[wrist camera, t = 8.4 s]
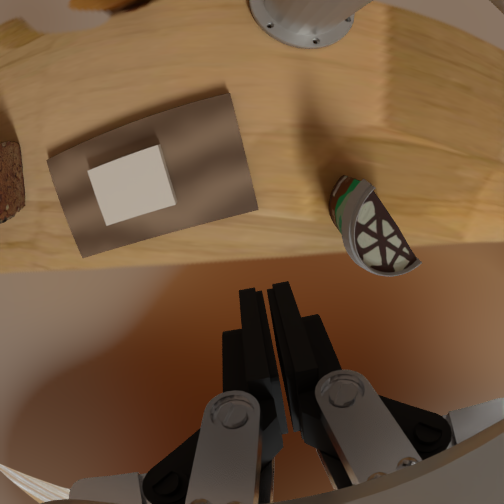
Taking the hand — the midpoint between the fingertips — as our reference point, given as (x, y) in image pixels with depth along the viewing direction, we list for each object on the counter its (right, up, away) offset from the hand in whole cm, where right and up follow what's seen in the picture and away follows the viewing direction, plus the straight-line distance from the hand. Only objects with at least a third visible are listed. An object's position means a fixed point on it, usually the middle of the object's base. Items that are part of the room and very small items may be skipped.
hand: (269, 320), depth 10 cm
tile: (-10, +11, +22) cm, 27 cm away
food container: (+12, +7, +28) cm, 31 cm away
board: (-13, +11, +24) cm, 29 cm away
